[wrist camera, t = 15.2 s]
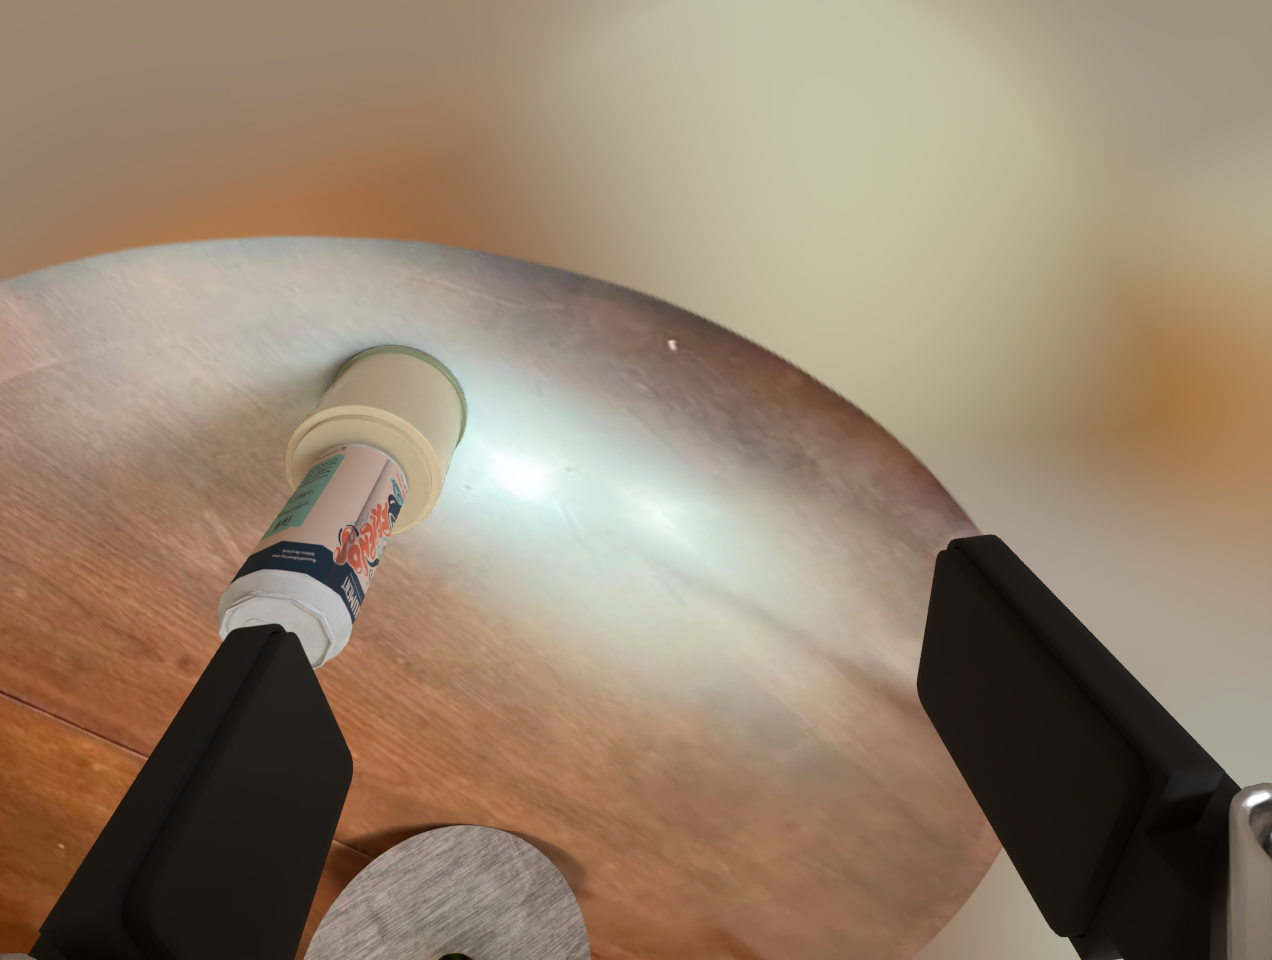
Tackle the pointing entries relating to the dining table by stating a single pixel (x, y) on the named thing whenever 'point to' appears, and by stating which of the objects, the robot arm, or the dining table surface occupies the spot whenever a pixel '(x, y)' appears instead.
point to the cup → (388, 422)
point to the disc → (455, 903)
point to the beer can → (320, 552)
